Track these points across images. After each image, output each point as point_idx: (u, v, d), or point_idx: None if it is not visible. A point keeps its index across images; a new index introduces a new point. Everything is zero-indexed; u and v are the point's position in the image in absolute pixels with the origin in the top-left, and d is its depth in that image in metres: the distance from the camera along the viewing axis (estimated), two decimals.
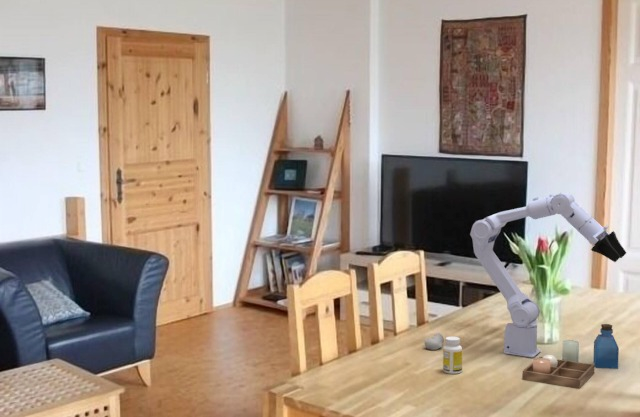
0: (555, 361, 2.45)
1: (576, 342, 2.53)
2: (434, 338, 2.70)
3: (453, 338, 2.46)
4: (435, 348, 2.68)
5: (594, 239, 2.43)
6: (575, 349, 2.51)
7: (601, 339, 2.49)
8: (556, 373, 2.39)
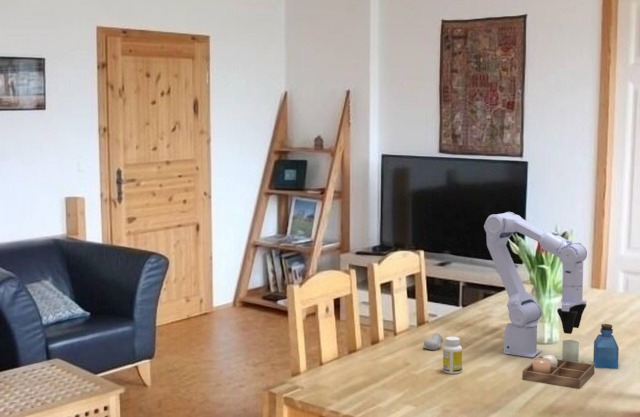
0: (555, 361, 2.45)
1: (576, 342, 2.53)
2: (433, 338, 2.70)
3: (453, 338, 2.46)
4: (434, 348, 2.68)
5: (567, 308, 2.45)
6: (575, 349, 2.51)
7: (601, 339, 2.49)
8: (556, 373, 2.39)
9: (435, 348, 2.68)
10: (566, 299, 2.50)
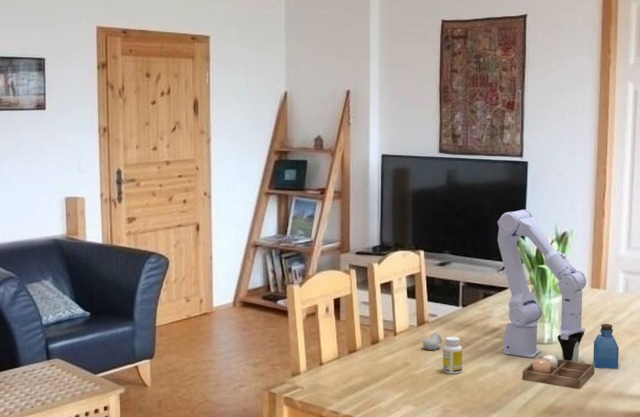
0: (555, 361, 2.45)
1: (576, 342, 2.53)
2: (432, 338, 2.69)
3: (453, 338, 2.46)
4: (434, 348, 2.68)
5: (566, 336, 2.46)
6: (575, 349, 2.51)
7: (601, 339, 2.49)
8: (556, 373, 2.39)
9: (434, 348, 2.68)
10: (565, 327, 2.51)
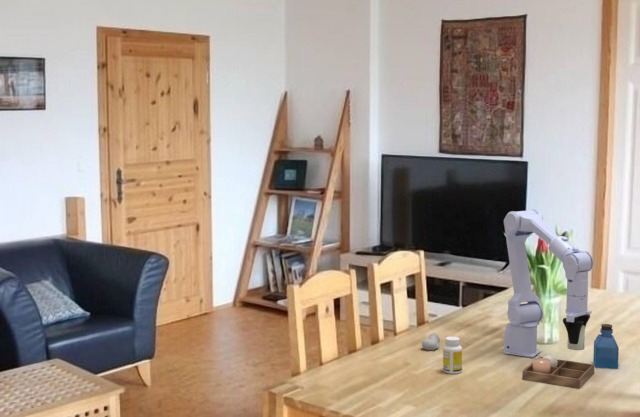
0: (555, 361, 2.45)
1: (582, 326, 2.43)
2: (431, 338, 2.69)
3: (453, 338, 2.46)
4: (433, 348, 2.68)
5: (572, 318, 2.37)
6: (580, 333, 2.42)
7: (601, 339, 2.49)
8: (556, 373, 2.39)
9: (433, 348, 2.68)
10: (571, 309, 2.41)
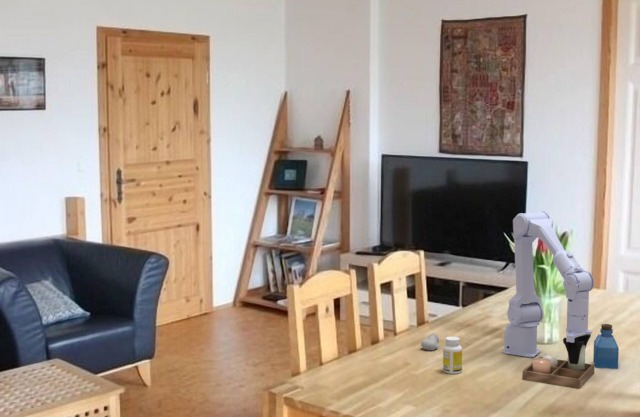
0: (555, 361, 2.45)
1: None
2: (430, 339, 2.69)
3: (453, 338, 2.46)
4: (432, 349, 2.68)
5: (572, 339, 2.36)
6: (581, 353, 2.40)
7: (601, 339, 2.49)
8: (556, 373, 2.39)
9: (433, 348, 2.68)
10: (571, 329, 2.40)
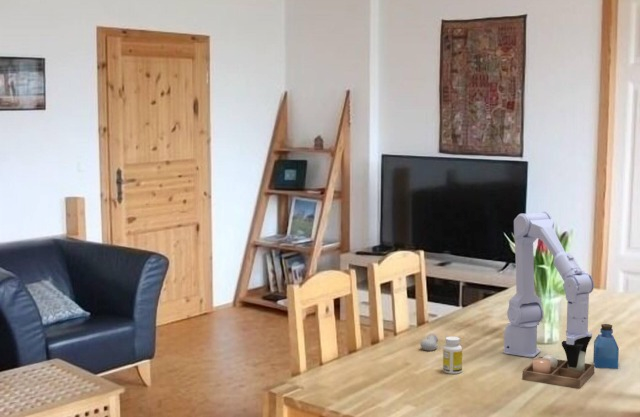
0: (555, 361, 2.45)
1: (582, 352, 2.42)
2: (430, 339, 2.69)
3: (453, 338, 2.46)
4: (431, 349, 2.68)
5: (572, 341, 2.36)
6: (580, 360, 2.41)
7: (601, 339, 2.49)
8: (556, 373, 2.39)
9: (432, 348, 2.68)
10: (571, 331, 2.40)
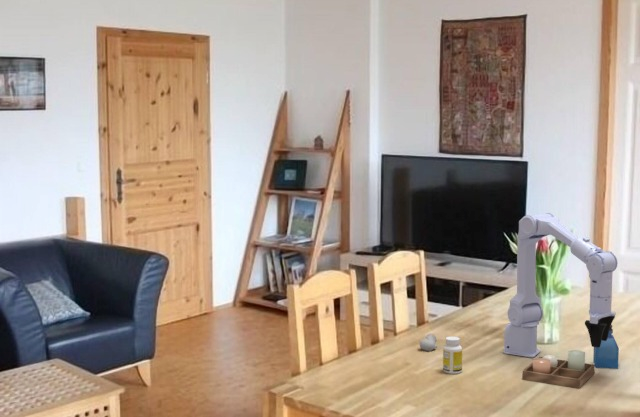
0: (555, 361, 2.45)
1: (582, 352, 2.42)
2: (429, 339, 2.69)
3: (453, 338, 2.46)
4: (431, 349, 2.67)
5: (595, 320, 2.32)
6: (580, 360, 2.41)
7: None
8: (556, 373, 2.39)
9: (431, 349, 2.67)
10: (594, 310, 2.36)
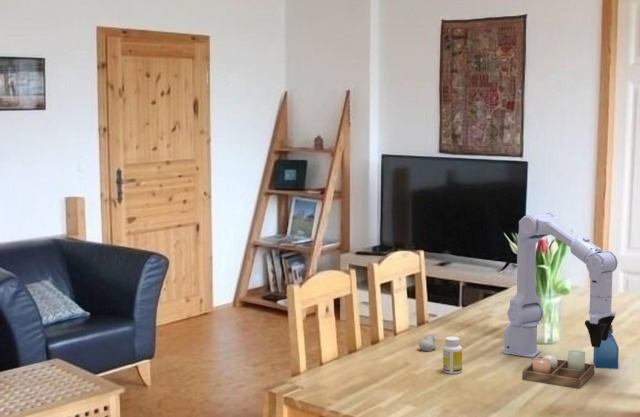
0: (555, 361, 2.45)
1: (582, 352, 2.42)
2: (428, 339, 2.69)
3: (453, 338, 2.46)
4: (430, 349, 2.67)
5: (595, 320, 2.32)
6: (580, 360, 2.41)
7: None
8: (556, 373, 2.39)
9: (431, 349, 2.67)
10: (594, 310, 2.36)
